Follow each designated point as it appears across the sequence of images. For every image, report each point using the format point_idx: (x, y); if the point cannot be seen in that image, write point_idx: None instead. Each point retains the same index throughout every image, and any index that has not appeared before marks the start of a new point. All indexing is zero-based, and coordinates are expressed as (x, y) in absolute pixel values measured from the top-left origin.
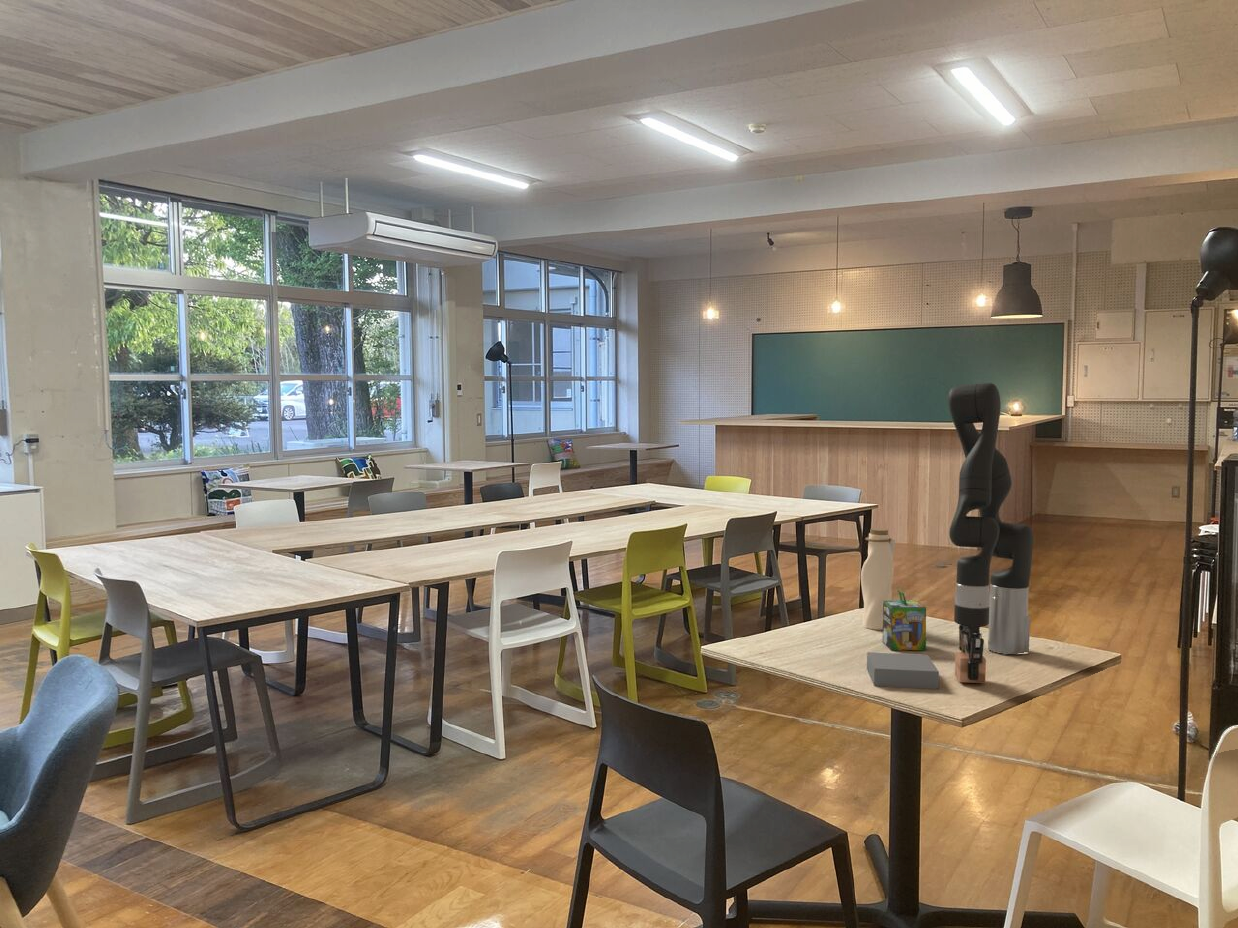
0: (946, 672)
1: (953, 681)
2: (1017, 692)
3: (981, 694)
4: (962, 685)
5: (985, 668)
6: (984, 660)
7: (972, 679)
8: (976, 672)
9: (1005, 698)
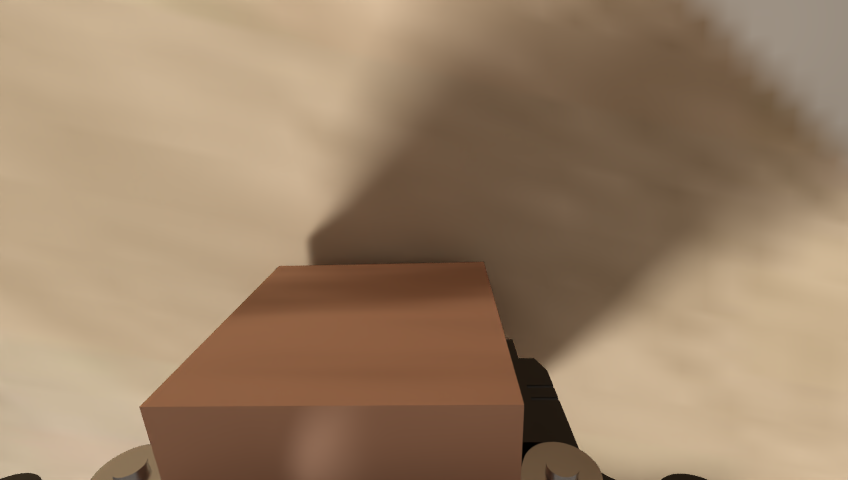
0: None
1: None
2: (646, 4)
3: (712, 323)
4: None
5: (499, 326)
6: (516, 406)
7: None
8: (557, 402)
9: (827, 162)
